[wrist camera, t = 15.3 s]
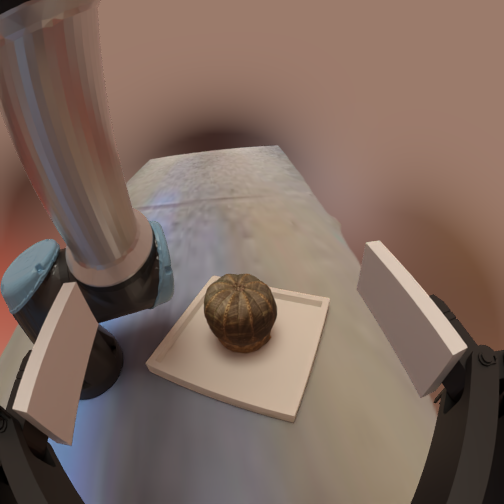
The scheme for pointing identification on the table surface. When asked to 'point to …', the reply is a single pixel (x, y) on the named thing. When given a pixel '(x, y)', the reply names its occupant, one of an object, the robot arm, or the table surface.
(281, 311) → the tray
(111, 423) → the table surface
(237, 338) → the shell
